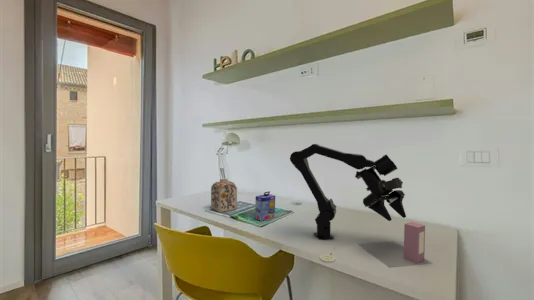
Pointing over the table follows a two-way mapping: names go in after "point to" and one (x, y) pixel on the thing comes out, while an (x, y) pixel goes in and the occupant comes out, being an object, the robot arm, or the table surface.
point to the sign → (327, 258)
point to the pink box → (414, 242)
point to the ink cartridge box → (265, 207)
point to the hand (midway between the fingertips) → (397, 218)
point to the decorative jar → (223, 196)
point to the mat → (389, 253)
